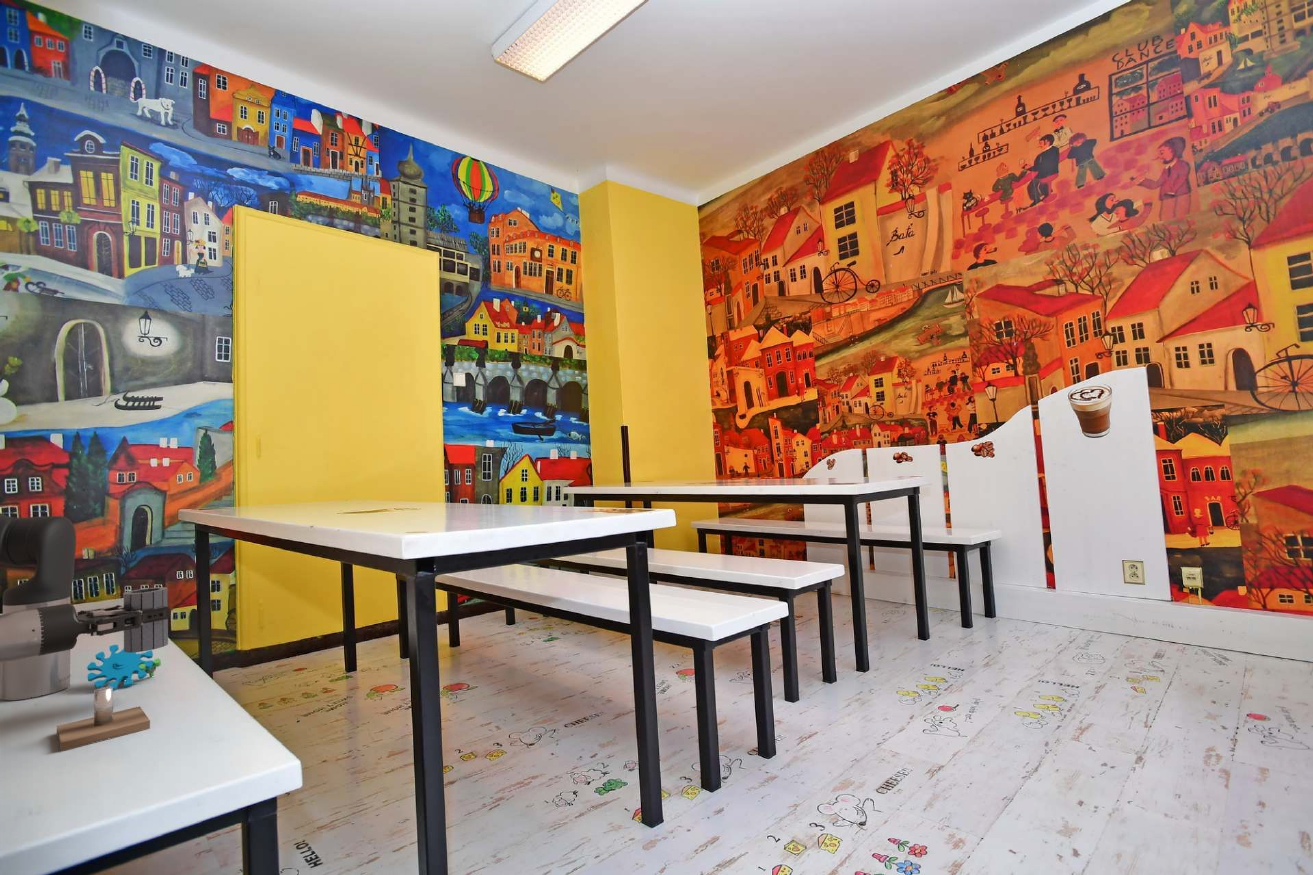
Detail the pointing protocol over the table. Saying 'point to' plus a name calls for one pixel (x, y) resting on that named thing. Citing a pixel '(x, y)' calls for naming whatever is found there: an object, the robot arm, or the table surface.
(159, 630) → the sleeve
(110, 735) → the base plate
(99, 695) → the shaft
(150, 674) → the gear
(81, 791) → the table surface
